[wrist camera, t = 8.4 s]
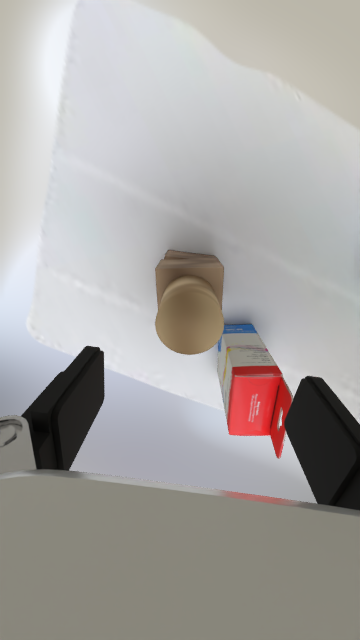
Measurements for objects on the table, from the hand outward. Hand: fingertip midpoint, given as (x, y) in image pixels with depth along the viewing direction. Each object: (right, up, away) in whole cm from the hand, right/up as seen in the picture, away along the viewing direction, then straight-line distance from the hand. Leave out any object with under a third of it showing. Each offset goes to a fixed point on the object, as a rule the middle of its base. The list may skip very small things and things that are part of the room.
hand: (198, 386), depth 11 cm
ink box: (+7, -1, +24) cm, 25 cm away
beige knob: (0, +5, +10) cm, 11 cm away
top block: (0, +7, +15) cm, 17 cm away
